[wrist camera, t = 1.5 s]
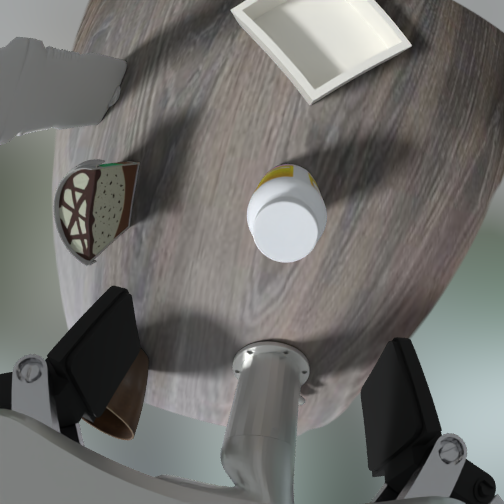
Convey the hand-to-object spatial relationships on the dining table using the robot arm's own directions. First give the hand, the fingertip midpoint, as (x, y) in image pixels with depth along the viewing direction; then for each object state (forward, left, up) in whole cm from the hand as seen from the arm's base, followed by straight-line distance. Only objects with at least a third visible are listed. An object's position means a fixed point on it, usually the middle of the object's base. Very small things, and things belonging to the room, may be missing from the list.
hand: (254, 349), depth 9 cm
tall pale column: (+25, +10, -25) cm, 36 cm away
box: (+13, -14, -24) cm, 31 cm away
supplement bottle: (0, 0, -25) cm, 25 cm away
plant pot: (-8, +41, -25) cm, 48 cm away
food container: (+14, +18, -25) cm, 33 cm away
